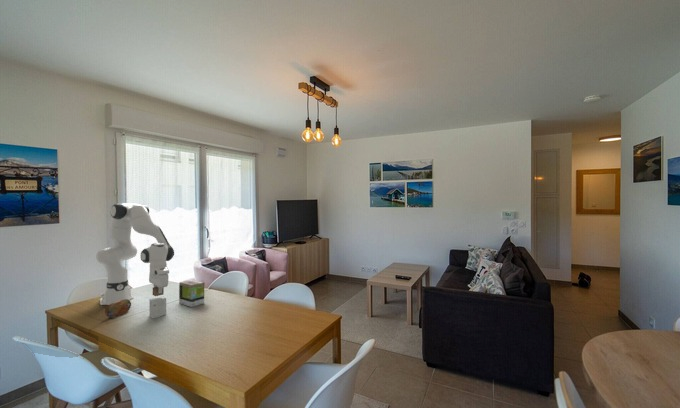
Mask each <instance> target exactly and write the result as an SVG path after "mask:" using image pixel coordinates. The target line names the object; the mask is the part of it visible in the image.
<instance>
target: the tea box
mask: <svg viewBox="0 0 680 408" xmlns="http://www.w3.org/2000/svg"><path fill="white" fill-rule="evenodd" d="M178 286H179V288H178V292H179V293H178V294H179V295H178V296H179V297H178V302H179V304H181V305H184V306H188V307H190V308H193V307H197V306H200V305H203V304H205V282H204V281H201V280H196V279H190V280H183V281H180V282H179V285H178Z"/></svg>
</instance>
